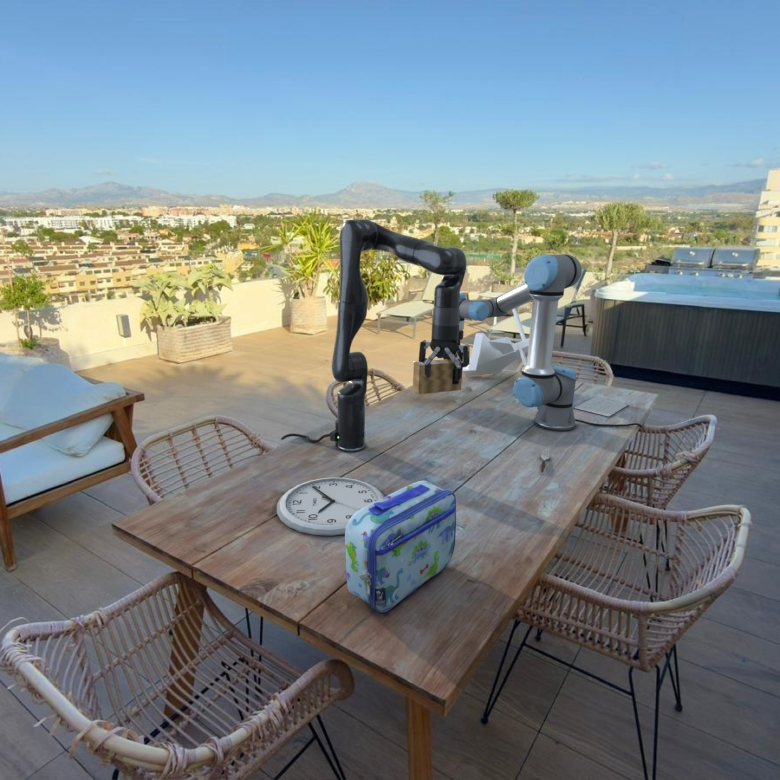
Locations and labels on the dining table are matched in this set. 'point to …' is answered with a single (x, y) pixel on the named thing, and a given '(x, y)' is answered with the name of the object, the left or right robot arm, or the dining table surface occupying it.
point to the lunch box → (399, 543)
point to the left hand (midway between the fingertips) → (442, 378)
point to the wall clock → (325, 504)
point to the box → (435, 377)
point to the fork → (544, 459)
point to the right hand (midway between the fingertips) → (451, 381)
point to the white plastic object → (496, 353)
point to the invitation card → (601, 406)
